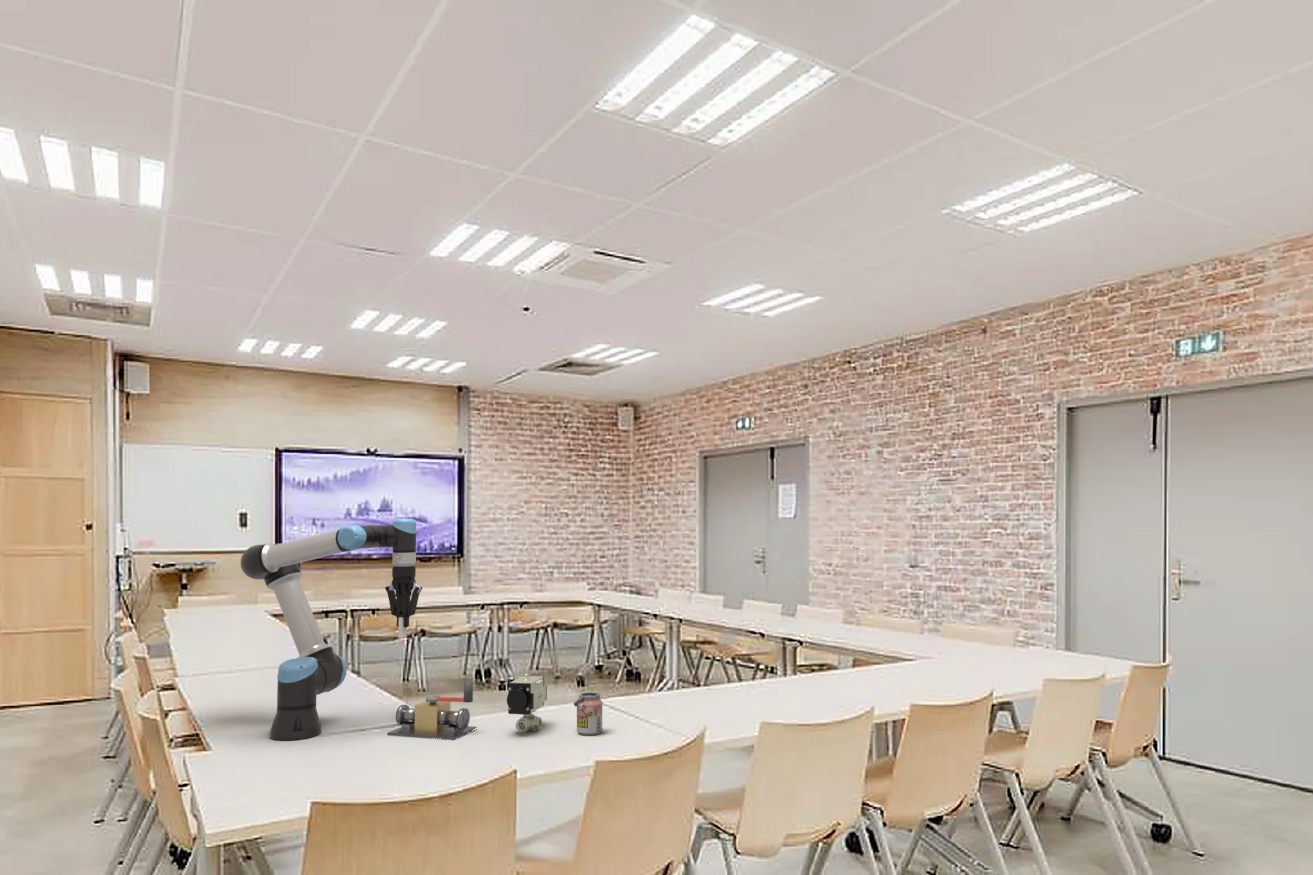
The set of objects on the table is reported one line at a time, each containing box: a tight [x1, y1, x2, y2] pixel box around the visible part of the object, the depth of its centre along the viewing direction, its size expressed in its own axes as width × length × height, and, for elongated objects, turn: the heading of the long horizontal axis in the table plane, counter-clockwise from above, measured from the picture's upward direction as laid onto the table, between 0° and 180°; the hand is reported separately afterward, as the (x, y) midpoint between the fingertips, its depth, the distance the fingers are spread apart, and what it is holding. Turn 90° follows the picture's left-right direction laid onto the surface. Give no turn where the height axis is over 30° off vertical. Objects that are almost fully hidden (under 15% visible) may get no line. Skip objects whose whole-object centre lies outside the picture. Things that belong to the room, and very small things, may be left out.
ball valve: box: [506, 673, 548, 734], centre depth 275 cm, size 18×8×18 cm, turn 168°
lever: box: [425, 681, 474, 703], centre depth 274 cm, size 16×4×6 cm, turn 80°
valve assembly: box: [386, 701, 478, 741], centre depth 274 cm, size 24×14×10 cm, turn 73°
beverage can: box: [573, 691, 603, 737], centre depth 271 cm, size 9×8×12 cm
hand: (402, 637), depth 282 cm, fingers closed
